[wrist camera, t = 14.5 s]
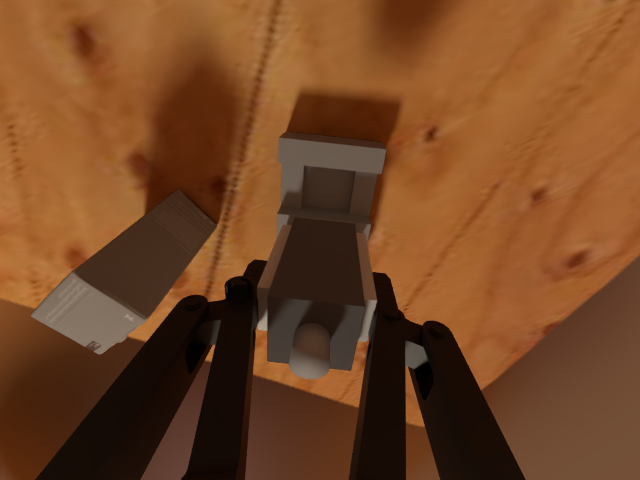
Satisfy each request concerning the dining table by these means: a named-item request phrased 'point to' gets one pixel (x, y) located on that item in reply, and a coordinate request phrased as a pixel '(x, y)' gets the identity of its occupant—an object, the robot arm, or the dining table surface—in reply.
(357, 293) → the plug
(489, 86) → the dining table surface
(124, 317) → the skincare box
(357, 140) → the socket
